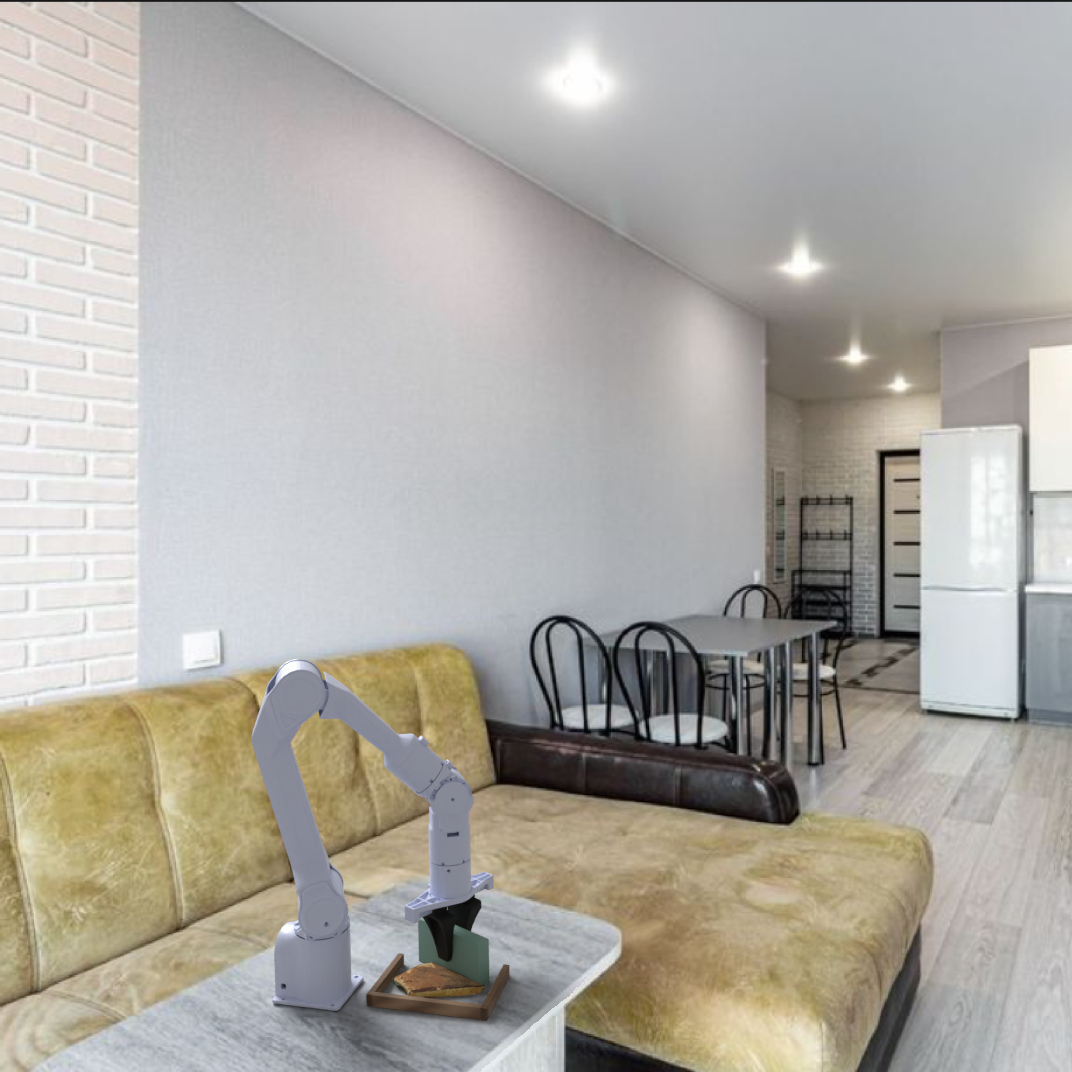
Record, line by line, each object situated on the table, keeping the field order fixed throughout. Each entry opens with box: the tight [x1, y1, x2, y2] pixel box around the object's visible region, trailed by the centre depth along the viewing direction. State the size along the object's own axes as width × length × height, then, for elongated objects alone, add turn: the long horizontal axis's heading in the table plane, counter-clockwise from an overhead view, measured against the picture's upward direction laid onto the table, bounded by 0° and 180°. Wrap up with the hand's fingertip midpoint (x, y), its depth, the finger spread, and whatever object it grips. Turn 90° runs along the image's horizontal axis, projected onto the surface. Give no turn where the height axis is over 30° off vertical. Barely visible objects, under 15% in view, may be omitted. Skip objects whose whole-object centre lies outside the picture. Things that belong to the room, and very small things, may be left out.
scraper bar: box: [417, 917, 490, 986], centre depth 122 cm, size 12×2×6 cm, turn 49°
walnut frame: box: [365, 952, 510, 1021], centre depth 118 cm, size 16×11×2 cm
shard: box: [393, 963, 486, 998], centre depth 117 cm, size 11×8×2 cm
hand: (452, 955), depth 122 cm, fingers closed on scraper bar, 2 cm apart
